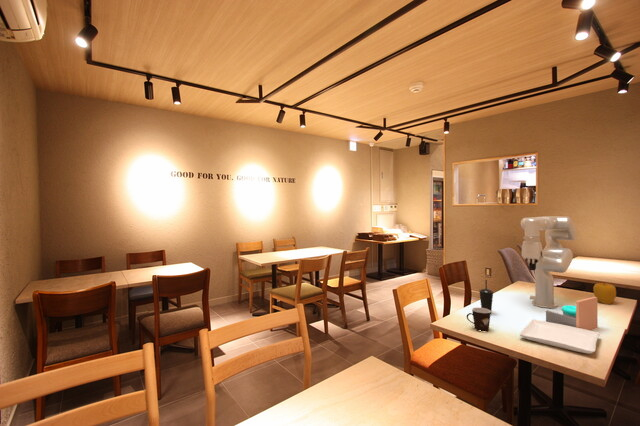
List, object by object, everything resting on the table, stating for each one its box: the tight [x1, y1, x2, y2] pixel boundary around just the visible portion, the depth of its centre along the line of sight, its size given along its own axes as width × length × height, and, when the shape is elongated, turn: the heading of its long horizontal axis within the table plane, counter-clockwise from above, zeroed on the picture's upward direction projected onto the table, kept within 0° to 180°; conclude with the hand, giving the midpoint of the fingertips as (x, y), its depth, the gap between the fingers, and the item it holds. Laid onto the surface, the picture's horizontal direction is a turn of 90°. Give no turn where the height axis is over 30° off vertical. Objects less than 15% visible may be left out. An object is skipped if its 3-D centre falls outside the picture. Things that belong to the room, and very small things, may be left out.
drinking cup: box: [478, 279, 494, 312], centre depth 183 cm, size 8×8×20 cm
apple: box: [592, 282, 617, 305], centre depth 198 cm, size 11×11×13 cm
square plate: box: [519, 319, 601, 354], centre depth 147 cm, size 27×27×4 cm
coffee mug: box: [466, 307, 492, 332], centre depth 161 cm, size 12×9×10 cm
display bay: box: [545, 296, 599, 331], centre depth 162 cm, size 15×16×16 cm
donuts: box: [561, 304, 576, 316], centre depth 162 cm, size 10×10×10 cm
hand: (532, 269), depth 185 cm, fingers closed
